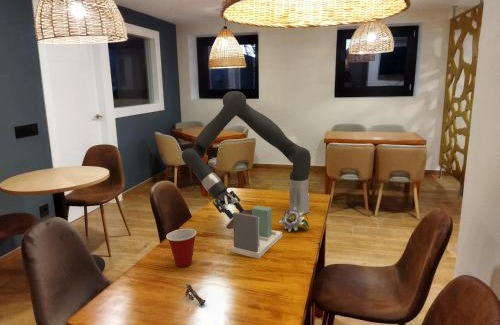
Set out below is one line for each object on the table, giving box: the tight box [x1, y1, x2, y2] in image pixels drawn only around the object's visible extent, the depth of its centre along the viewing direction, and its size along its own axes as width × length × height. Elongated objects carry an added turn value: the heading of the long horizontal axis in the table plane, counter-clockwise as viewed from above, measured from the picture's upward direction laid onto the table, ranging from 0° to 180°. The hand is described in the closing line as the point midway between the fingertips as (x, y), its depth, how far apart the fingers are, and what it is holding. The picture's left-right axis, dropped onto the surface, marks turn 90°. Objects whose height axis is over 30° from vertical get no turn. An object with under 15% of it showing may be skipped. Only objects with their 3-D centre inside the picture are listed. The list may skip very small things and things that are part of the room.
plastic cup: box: [165, 228, 197, 268], centre depth 131 cm, size 11×11×12 cm
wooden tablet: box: [226, 209, 252, 230], centre depth 174 cm, size 26×2×10 cm
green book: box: [251, 205, 273, 238], centre depth 149 cm, size 4×7×12 cm, turn 62°
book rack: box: [230, 211, 283, 259], centre depth 145 cm, size 22×12×16 cm, turn 152°
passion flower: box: [278, 207, 310, 233], centre depth 161 cm, size 11×11×12 cm
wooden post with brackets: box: [184, 283, 207, 307], centre depth 109 cm, size 2×8×4 cm, turn 49°
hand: (237, 214), depth 154 cm, fingers open, 8 cm apart
